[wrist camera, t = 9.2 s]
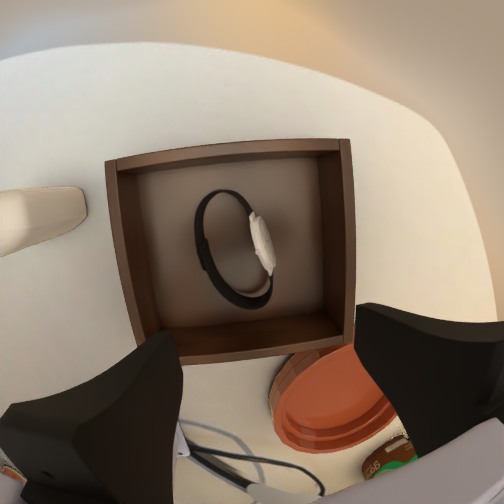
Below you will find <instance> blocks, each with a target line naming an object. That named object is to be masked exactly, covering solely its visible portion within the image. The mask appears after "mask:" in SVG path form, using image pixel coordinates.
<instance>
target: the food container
mask: <svg viewBox="0 0 504 504" xmlns="http://www.w3.org/2000/svg"><path fill="white" fill-rule="evenodd" d="M417 459H418V457H417V455H416V452H415V450H414V448H413V447H412V446H411V444H410V443H409V442H408V441H407V440H406V438H405V437H404V436H403V435H400V436H398V437H395V438H394V439H392V440H390V441H388V442H387V443H385V444H383V445H382V446H381V447H379V448H378V449H377V450H375V451H374V452H373V453H372V454H371V455H370V456H369V457H368V458H367V459H366V460H365V462H364V463H363V465H362V472H363V475H364V477H365V480H366V481H367V480H369V479H372V478H375V477H378V476H380V475H383V474H385V473H388V472H390V471H392V470H395V469H397V468H399V467H402V466H404V465H406V464H408V463H410V462H413V461H415V460H417Z"/></svg>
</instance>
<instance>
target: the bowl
mask: <svg viewBox="0 0 504 504" xmlns="http://www.w3.org/2000/svg"><path fill="white" fill-rule="evenodd" d="M354 335H355V326H354V328H353V341H352V342H348V343H342V344H339V345H334V346H329V347H324V348H319V349H314V350H308V351H303V352H297V353H296V354H295V355H293V356H292V357H291V358H290V359H289V360H288V362H287V363H286V364H285V365H284V367H283V368H282V369H281V371H280V372H279V373H278V375H277V376H276V377H275V380H274V383H273V386H272V388H271V391H270V394H269V403H270V413H271V417H272V421H273V426H274V430H275V432H276V433H277V435H278V436H279V438H280V439H281V441H282V442H283V443H284V444H286V445H288V446H289V447H291V448H293V449H295V450H297V451H301V452H306V453H312V454H318V453H332V452H337V451H340V450H344V449H347V448H351V447H353V446H356V445H358V444H360V443H362V442H364V441H366V440H368V439H370V438H371V437H373V436H374V435H376V434H377V433H378V432H380V431H381V430H382V429H384V428H385V427H386V426H388V425H389V424H390V423H391V422H392V421H393V419H394V418H395V417H396V416H397V413H396V411H395V409H394V408H393V406H392V405H391V403H390V402H389V400H388V399H387V398H386V396H385V395H384V394H383V392H382V391H381V390H380V388H379V387H378V386H377V384H376V383H375V382H374V380H373V379H372V378H371V376H370V375H369V374H368V372H367V371H366V370H365V368H364V367H363V365H362V364H361V362H360V360H359V358H358V356H357V354H356V352H355V350H354Z"/></svg>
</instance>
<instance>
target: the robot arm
mask: <svg viewBox="0 0 504 504" xmlns="http://www.w3.org/2000/svg"><path fill="white" fill-rule="evenodd" d="M354 350H355V352H356V354H357V356H358V358H359V360H360V362H361V364H362V365H363V367H364V368H365V370H366V371H367V372H368V374H369V375H370V376H371V378H372V379H373V380H374V382H375V383H376V384H377V386H378V387H379V388H380V390H381V391H382V392H383V394H384V395H385V396H386V398H387V399H388V400H389V402H390V403H391V405H392V406H393V408H394V409H395V411H396V413H397V415H398V417H399V418H400V420H401V422H402V424H403V426H404V428H405V430H406V432H407V434H408V436H409V438H410V440H411V443H412V445H413V447H414V450H415V452H416V455H417V457H418V459H417V460H415V461H413V462H410V463H408V464H406V465H404V466H402V467H399V468H397V469H395V470H392V471H390V472H388V473H385V474H383V475H380V476H378V477H375V478H372V479H369V480H367V481H364V482H361V483H358V484H355V485H353V486H350V487H348V488H345V489H343V490H340V491H338V492H335V493H333V494H330V495H327V496H324V497H322V498H319V499H318V500H316V501H314V502H312V503H310V504H504V321H500V322H486V323H471V322H455V321H447V320H440V319H435V318H430V317H426V316H421V315H417V314H413V313H410V312H406V311H402V310H399V309H395V308H392V307H388V306H385V305H381V304H376V303H364V304H359V305H356V318H355V335H354ZM182 393H183V371H182V367H181V364H180V360H179V356H178V352H177V348H176V344H175V340H174V335H173V331H163V332H156V333H155V334H153V335H152V336H151V337H149V338H148V339H147V340H146V341H145V342H143V343H142V344H141V345H140V346H138V347H137V348H136V349H135V350H134V351H132V352H131V353H130V354H129V355H127V356H126V357H125V358H123V359H122V360H121V361H119V362H118V363H116V364H115V365H114V366H112V367H111V368H109V369H108V370H106V371H105V372H103V373H101V374H100V375H98V376H96V377H94V378H93V379H91V380H89V381H87V382H85V383H82V384H80V385H78V386H76V387H73V388H71V389H69V390H66V391H64V392H61V393H58V394H55V395H51V396H48V397H45V398H41V399H36V400H31V401H25V402H20V403H13V404H11V405H10V406H9V408H8V409H7V410H6V412H5V413H4V414H3V416H2V417H1V418H0V447H1V448H2V450H3V451H4V453H5V454H6V455H7V456H8V458H9V459H10V460H11V461H12V462H13V464H14V465H15V466H16V467H17V468H18V469H19V470H20V472H21V473H22V474H23V475H24V476H25V477H26V478H27V482H26V484H25V486H24V485H23V484H21V483H20V482H18V481H17V480H15V479H13V478H11V477H8V476H6V475H4V474H2V473H0V504H173V490H174V479H175V469H176V459H177V456H189V455H190V450H189V448H188V445H187V443H186V440H185V438H184V435H183V432H182V430H181V427H180V424H179V422H178V416H179V411H180V405H181V400H182Z"/></svg>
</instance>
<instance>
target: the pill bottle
mask: <svg viewBox="0 0 504 504" xmlns="http://www.w3.org/2000/svg"><path fill="white" fill-rule="evenodd" d="M1 473H2V474H4V475H6V476H8V477H11V478H13V479H15V480H17V481H18V482H20V483H21V484H23V485H24V486H25V484H26V482H27V480H26V479H25V478H24V477H23V476H22V475H21V474H20V473H18V472H17V471H16V470H14V469H12V468H10V467H8V466H4V467H3V469H2V471H1Z"/></svg>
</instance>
